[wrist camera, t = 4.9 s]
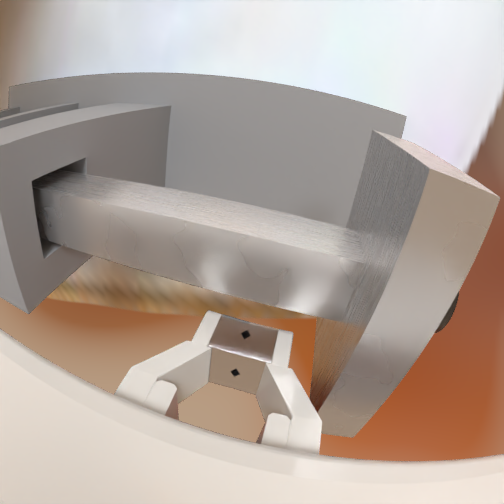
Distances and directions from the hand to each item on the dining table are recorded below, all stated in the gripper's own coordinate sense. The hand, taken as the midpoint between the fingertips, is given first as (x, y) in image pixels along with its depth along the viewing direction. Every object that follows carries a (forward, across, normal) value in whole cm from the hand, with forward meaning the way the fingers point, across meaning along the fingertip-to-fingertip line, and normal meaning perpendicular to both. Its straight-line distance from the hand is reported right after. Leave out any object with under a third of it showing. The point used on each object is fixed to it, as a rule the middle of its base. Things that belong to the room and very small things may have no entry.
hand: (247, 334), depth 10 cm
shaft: (+3, +8, -3) cm, 9 cm away
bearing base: (+10, +10, -3) cm, 14 cm away
